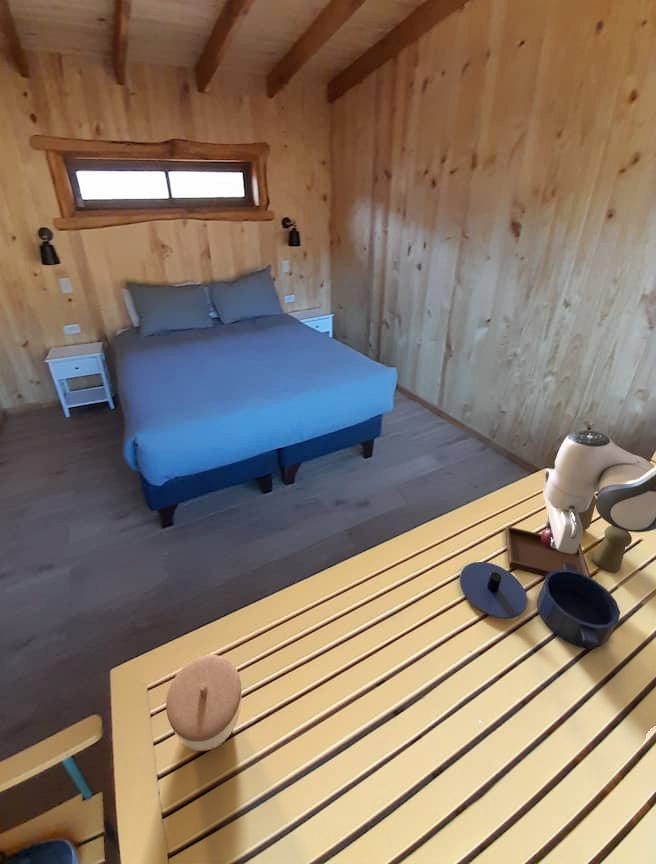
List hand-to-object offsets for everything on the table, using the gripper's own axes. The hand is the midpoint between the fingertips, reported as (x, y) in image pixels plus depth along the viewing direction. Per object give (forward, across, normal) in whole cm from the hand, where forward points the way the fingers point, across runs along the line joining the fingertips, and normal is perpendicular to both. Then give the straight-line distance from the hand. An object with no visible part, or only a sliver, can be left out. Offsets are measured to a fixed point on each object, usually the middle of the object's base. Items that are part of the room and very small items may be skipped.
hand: (551, 536), depth 99 cm
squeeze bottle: (+8, +14, -8) cm, 18 cm away
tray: (+8, 0, 0) cm, 8 cm away
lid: (+7, -14, +13) cm, 21 cm away
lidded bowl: (+8, -60, +62) cm, 86 cm away
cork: (+8, +4, -14) cm, 16 cm away
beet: (+3, 0, -1) cm, 3 cm away
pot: (+8, -16, -3) cm, 18 cm away
